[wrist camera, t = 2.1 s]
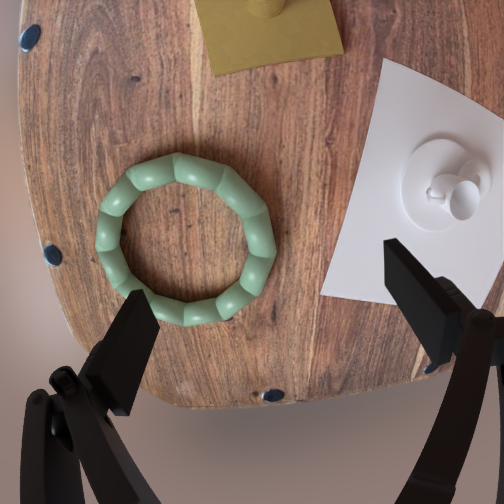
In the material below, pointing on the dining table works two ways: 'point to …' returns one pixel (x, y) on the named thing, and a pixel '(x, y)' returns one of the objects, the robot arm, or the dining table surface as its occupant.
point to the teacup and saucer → (424, 190)
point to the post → (266, 32)
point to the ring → (204, 177)
